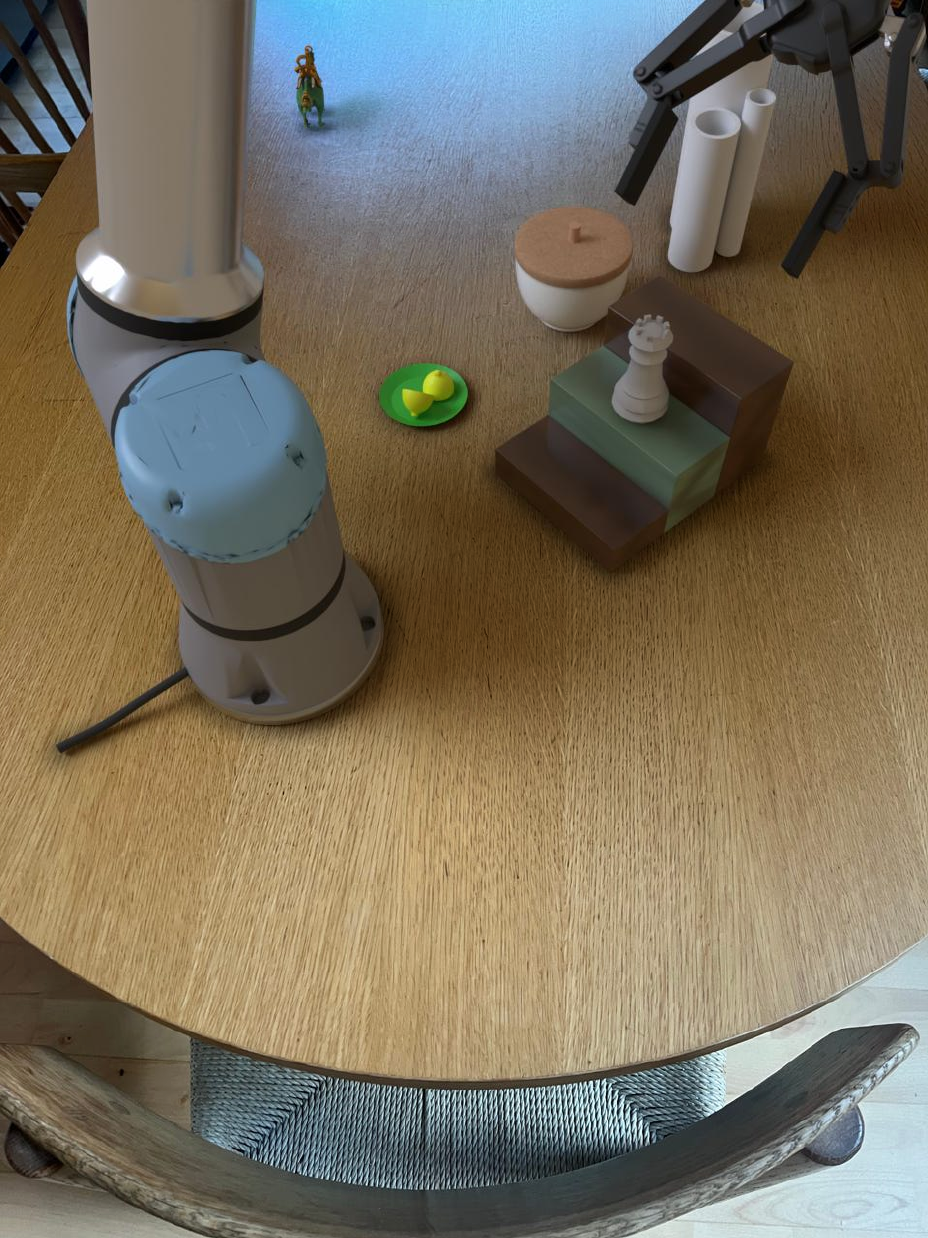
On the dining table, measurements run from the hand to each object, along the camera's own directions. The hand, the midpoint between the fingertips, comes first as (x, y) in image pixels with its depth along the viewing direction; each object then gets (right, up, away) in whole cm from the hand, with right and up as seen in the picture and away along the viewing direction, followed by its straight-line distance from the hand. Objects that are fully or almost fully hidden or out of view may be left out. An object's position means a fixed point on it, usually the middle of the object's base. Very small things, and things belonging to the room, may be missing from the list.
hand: (703, 234), depth 69 cm
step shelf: (-3, -14, +14) cm, 20 cm away
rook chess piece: (-3, -10, +9) cm, 14 cm away
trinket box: (-7, +2, +26) cm, 27 cm away
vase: (+8, +12, +31) cm, 34 cm away
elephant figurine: (-34, +32, +44) cm, 65 cm away
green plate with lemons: (-21, -7, +20) cm, 29 cm away
